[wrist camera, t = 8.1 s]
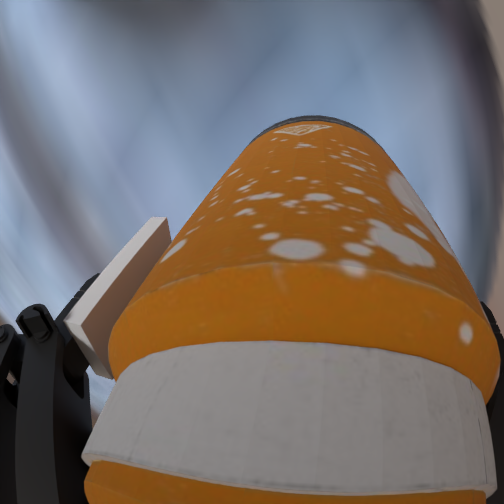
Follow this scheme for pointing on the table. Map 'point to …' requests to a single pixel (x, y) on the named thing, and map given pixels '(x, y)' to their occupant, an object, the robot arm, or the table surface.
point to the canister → (301, 344)
